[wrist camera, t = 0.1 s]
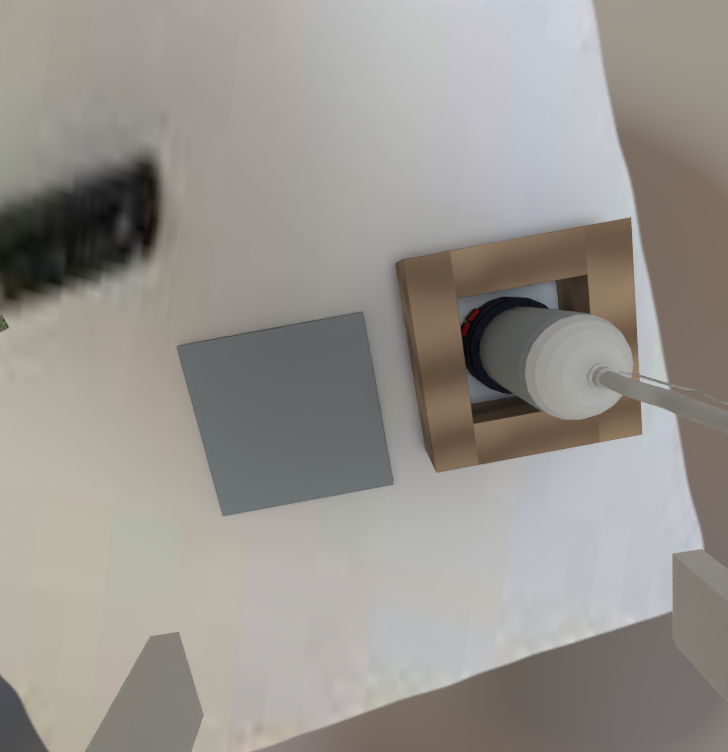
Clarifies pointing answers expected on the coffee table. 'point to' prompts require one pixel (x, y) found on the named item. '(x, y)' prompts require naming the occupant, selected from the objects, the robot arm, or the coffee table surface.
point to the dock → (500, 272)
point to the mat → (288, 413)
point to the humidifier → (565, 362)
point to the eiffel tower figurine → (2, 324)
